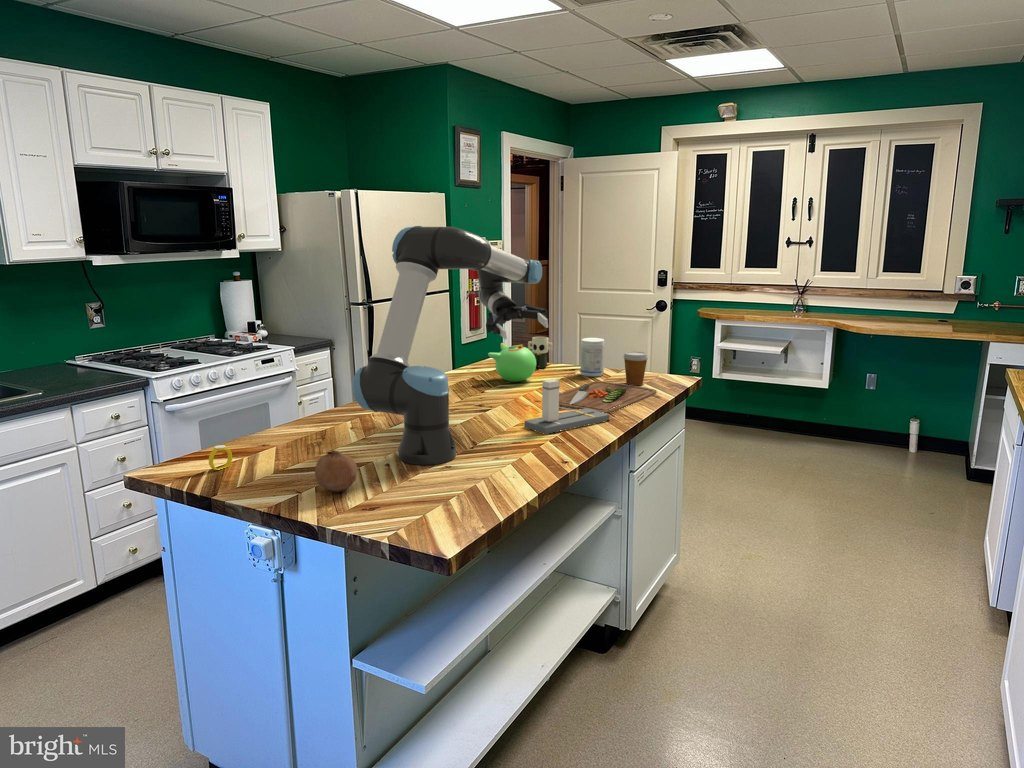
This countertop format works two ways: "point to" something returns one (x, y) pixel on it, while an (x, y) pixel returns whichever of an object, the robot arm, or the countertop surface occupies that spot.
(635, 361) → the disposable coffee cup
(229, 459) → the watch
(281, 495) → the countertop surface
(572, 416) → the fader console
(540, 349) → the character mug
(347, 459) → the onion
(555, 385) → the fader knob
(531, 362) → the green rounded body
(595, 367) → the supplement tub
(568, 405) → the chopping board
